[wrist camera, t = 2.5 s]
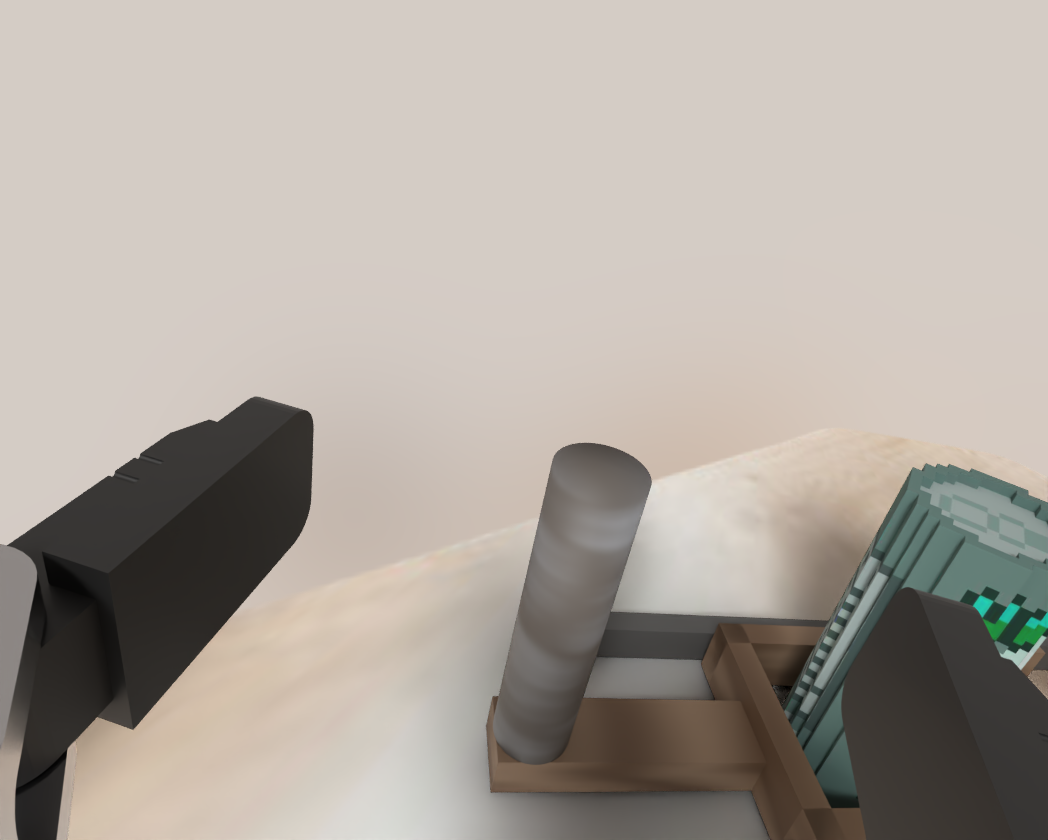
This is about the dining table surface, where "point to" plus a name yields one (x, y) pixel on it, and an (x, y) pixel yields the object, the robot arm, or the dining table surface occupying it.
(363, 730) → the dining table surface
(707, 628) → the lane rails
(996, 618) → the can
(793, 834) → the pull sled
